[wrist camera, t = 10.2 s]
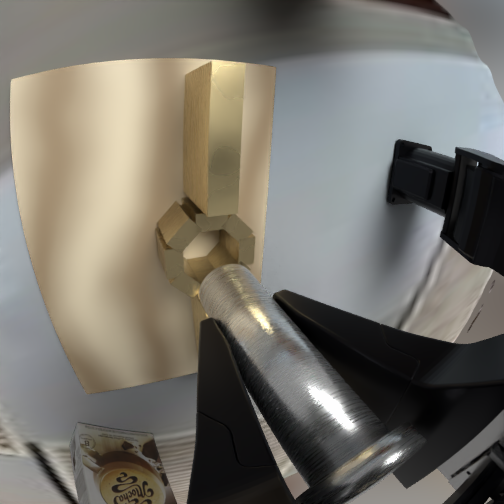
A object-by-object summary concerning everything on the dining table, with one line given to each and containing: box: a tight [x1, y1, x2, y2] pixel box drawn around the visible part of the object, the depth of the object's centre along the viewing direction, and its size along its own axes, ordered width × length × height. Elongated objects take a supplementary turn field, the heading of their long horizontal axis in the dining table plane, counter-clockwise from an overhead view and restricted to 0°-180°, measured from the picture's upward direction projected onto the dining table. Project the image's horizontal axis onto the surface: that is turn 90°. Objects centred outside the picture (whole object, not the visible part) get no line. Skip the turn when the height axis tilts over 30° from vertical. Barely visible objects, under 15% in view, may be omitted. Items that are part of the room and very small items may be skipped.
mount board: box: [10, 58, 276, 394], centre depth 18 cm, size 16×24×1 cm, turn 177°
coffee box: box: [70, 423, 177, 504], centre depth 18 cm, size 9×6×16 cm
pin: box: [199, 264, 427, 504], centre depth 7 cm, size 3×3×8 cm
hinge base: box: [155, 60, 255, 299], centre depth 15 cm, size 5×13×5 cm, turn 177°
